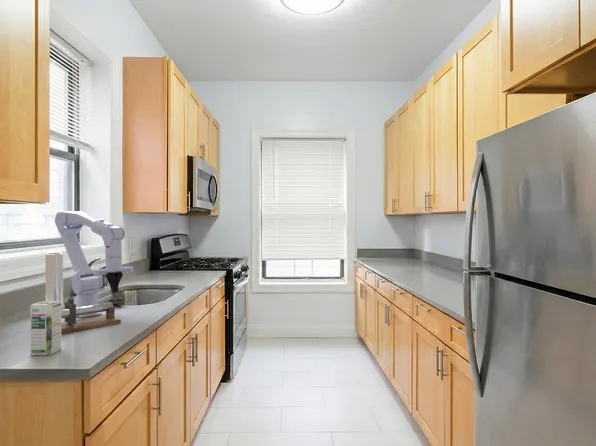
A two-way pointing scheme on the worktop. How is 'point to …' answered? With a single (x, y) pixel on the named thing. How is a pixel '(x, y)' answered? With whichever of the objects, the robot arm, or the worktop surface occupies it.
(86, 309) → the pipe stand
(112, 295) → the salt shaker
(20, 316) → the worktop surface
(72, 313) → the grey pipe bracket
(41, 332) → the syrup box
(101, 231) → the robot arm
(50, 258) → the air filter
